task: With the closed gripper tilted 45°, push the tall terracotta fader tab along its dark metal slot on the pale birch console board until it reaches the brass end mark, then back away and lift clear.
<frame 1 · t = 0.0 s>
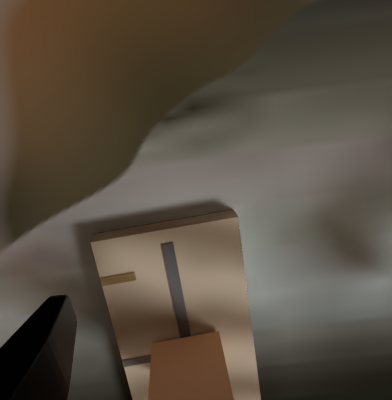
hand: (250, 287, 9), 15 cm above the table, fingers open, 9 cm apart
fader console: (183, 316, 27), on the table
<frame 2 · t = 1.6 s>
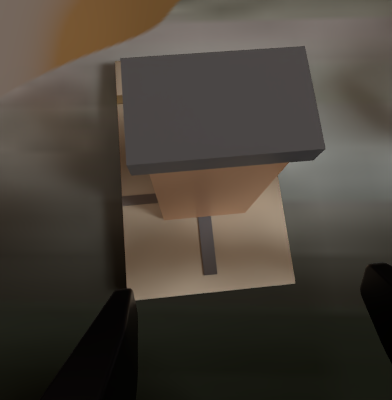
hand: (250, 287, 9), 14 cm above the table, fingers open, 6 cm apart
fader tab: (208, 162, 16), point 7 cm above the table, slide at 0.0 cm
fader console: (197, 171, 23), on the table
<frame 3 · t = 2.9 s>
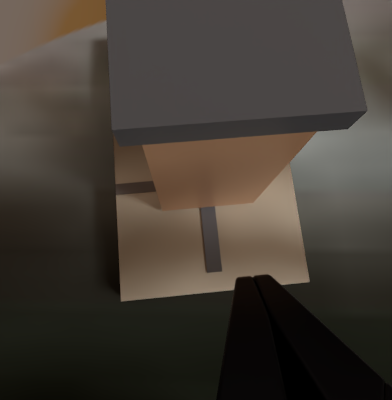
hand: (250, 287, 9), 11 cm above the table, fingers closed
fader tab: (213, 141, 14), point 7 cm above the table, slide at 0.0 cm
fader console: (200, 158, 21), on the table
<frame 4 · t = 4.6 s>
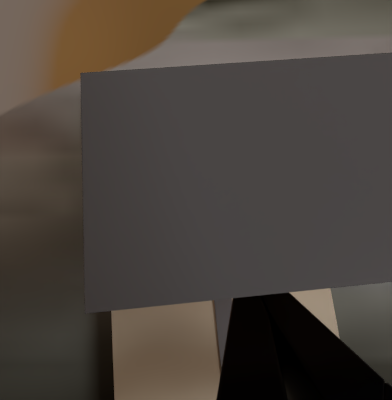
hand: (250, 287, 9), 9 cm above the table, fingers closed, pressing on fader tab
fader tab: (234, 227, 10), point 7 cm above the table, slide at 1.5 cm, touching gripper
fader console: (213, 242, 18), on the table
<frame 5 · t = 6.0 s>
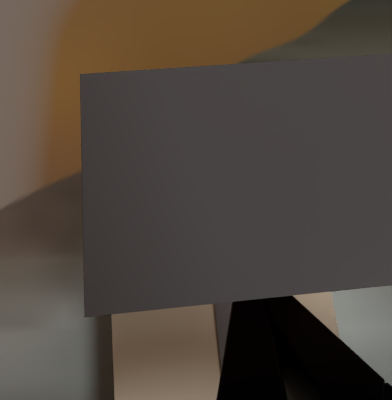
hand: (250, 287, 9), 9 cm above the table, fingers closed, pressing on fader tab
fader tab: (234, 228, 10), point 7 cm above the table, slide at 7.1 cm, touching gripper
fader console: (226, 358, 16), on the table
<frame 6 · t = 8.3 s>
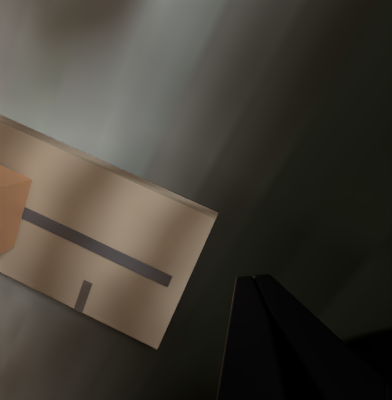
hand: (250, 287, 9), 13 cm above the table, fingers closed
fader console: (84, 228, 24), on the table
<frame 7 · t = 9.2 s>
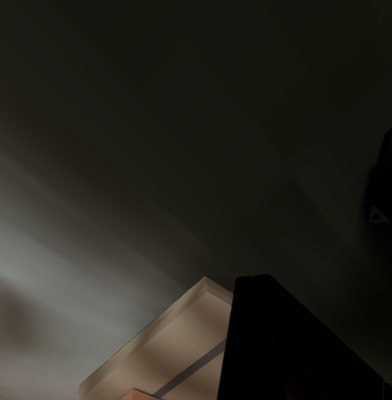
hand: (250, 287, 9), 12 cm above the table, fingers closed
fader console: (183, 357, 29), on the table
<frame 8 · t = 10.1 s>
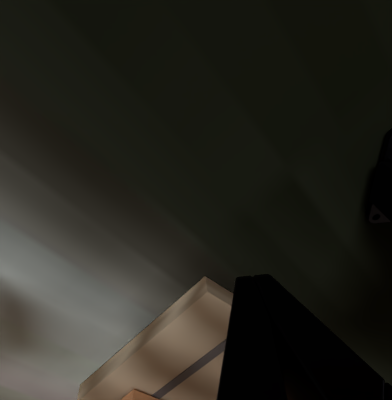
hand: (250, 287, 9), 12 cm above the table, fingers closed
fader console: (183, 357, 29), on the table
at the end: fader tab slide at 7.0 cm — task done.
